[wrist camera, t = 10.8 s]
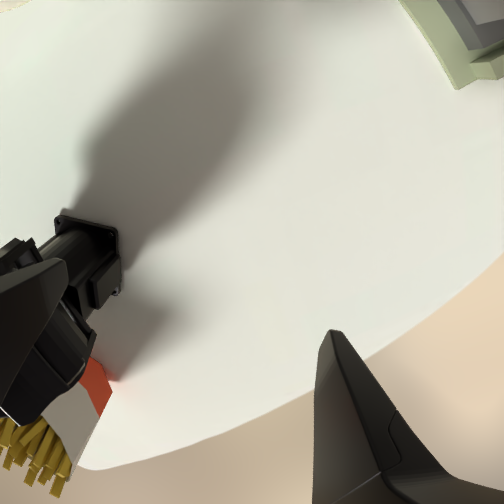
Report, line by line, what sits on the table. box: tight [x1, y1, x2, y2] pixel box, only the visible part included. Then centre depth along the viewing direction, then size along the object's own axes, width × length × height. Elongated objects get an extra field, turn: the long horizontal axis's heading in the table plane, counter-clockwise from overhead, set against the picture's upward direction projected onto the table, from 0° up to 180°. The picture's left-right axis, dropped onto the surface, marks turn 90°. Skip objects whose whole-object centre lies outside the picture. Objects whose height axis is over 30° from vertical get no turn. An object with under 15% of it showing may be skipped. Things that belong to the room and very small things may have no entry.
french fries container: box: [0, 357, 112, 498], centre depth 24 cm, size 5×11×18 cm, turn 53°
